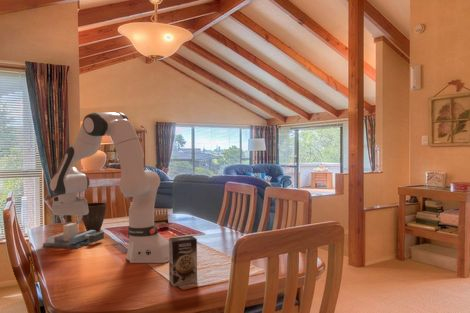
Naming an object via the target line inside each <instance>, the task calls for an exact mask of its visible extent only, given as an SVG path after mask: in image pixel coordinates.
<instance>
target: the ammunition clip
mask: <svg viewBox="0 0 470 313" xmlns="http://www.w3.org/2000/svg"><path fill="white" fill-rule="evenodd" d="M168 213H169V212H168V208H163V209H161V208H160V209H157V210H156V209H154V224H162V225H163V223H168V224H169V214H168Z"/></svg>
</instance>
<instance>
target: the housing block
mask: <svg viewBox="0 0 470 313" xmlns="http://www.w3.org/2000/svg"><path fill="white" fill-rule="evenodd" d="M77 225H78V224H77V223H76V222H74V223H73V222H70V223H67V224H62V228H63V230H62V231H63V232H62V233H63V237H64V241H69V238H70V237H73V236H76V235H77V230H78V227H77Z"/></svg>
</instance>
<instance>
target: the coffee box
mask: <svg viewBox="0 0 470 313" xmlns="http://www.w3.org/2000/svg"><path fill="white" fill-rule="evenodd" d="M168 241H169V261H168V266H169V267H168V268H169V270H168V271H169V274H168V275H169V276H168V279H169V282H170V284H171V286H172V287H178V286H179V287H180V286H184V285H190V284H196V283H198V258H197V257H198V239H197V238H196V237H194V236H193V235H187V236H186V235H185V236H177V237H176V236H175V237H169V238H168Z"/></svg>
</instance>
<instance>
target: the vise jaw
mask: <svg viewBox="0 0 470 313" xmlns="http://www.w3.org/2000/svg"><path fill="white" fill-rule="evenodd" d="M86 239H89V242H92V243H96V242H98V241H101V240H103V239H105V234H104V231H97V232H96V230H89V231H87V230H86V231H84V232H82V233H78V235H76V236H73V237H70V238H69V244H76V243H78V242H81V241H83V240H86Z"/></svg>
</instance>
